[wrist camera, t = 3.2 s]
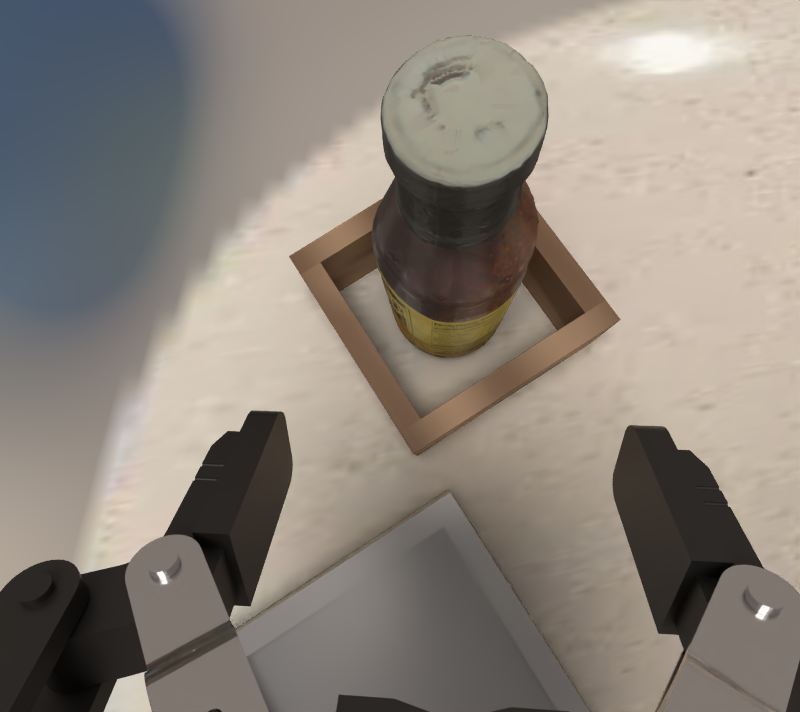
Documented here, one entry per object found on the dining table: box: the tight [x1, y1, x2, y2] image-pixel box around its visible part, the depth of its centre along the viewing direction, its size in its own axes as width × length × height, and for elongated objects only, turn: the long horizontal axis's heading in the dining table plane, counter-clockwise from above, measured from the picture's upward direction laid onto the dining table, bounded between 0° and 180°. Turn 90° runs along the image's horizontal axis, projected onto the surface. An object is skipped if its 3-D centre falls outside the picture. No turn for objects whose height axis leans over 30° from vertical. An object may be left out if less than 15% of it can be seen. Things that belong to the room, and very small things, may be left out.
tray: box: [235, 489, 590, 712], centre depth 27 cm, size 15×15×4 cm
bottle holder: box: [289, 199, 620, 455], centre depth 30 cm, size 12×12×5 cm
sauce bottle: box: [372, 35, 548, 357], centre depth 23 cm, size 6×6×20 cm
